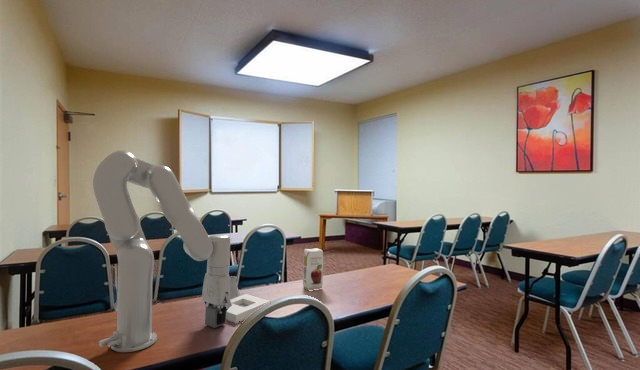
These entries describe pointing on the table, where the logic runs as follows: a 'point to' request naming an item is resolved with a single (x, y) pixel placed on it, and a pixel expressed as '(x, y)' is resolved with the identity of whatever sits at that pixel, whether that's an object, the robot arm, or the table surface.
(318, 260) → the juice carton
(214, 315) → the plug
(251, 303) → the socket plate
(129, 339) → the robot arm
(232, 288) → the flask
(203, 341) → the table surface
